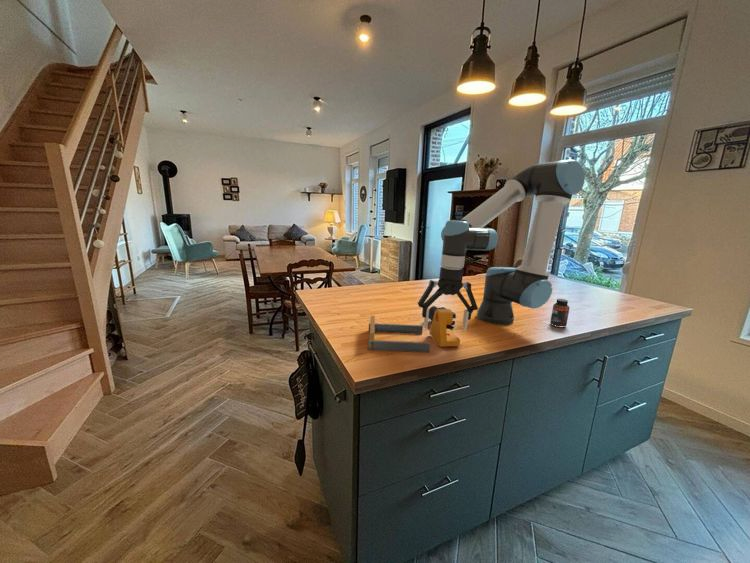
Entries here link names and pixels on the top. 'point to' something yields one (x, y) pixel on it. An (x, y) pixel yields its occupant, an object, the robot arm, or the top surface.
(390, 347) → the rail
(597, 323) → the top surface
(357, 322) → the top surface
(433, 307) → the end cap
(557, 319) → the supplement bottle
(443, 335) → the bracket
